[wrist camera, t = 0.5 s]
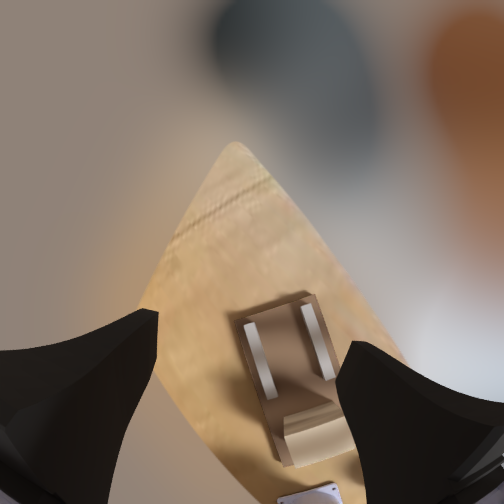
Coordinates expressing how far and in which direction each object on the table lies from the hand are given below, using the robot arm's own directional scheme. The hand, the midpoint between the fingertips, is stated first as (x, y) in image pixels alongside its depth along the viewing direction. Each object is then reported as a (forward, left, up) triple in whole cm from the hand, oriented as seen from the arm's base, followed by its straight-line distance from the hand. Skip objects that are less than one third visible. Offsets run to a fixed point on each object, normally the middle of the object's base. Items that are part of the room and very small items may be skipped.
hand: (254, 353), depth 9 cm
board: (-6, -2, -23) cm, 24 cm away
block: (-11, -2, -22) cm, 25 cm away
